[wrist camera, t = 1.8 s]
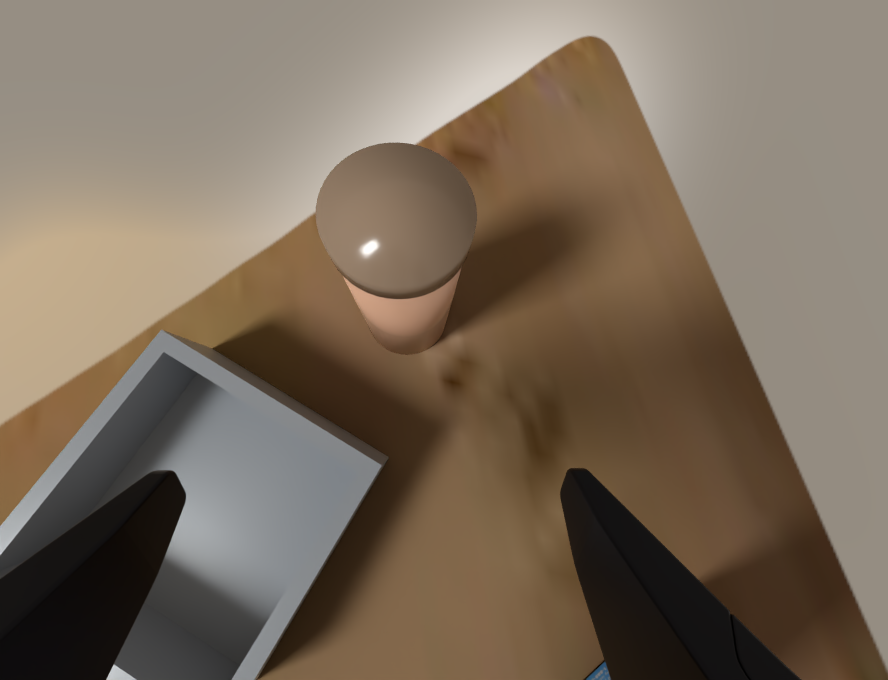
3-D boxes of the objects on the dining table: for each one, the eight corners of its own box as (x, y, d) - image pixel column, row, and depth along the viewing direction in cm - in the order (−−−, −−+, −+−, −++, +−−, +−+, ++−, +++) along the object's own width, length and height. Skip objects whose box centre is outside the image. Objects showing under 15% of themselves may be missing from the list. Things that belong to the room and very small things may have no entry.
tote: (388, 457, 22) (381, 465, 17) (256, 681, 19) (207, 758, 14) (211, 348, 22) (161, 329, 18) (57, 548, 19) (-47, 584, 15)
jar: (462, 303, 24) (504, 190, 12) (421, 371, 23) (425, 316, 11) (394, 264, 24) (373, 117, 13) (350, 329, 23) (282, 233, 12)
